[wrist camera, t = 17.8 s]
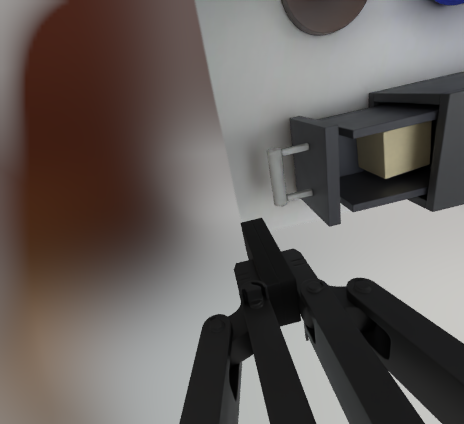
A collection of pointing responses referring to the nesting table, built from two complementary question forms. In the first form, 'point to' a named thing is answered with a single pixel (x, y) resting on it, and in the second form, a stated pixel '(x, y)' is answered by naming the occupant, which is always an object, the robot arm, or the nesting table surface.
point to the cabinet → (438, 135)
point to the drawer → (348, 161)
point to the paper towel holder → (322, 14)
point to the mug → (450, 2)
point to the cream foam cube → (395, 150)
